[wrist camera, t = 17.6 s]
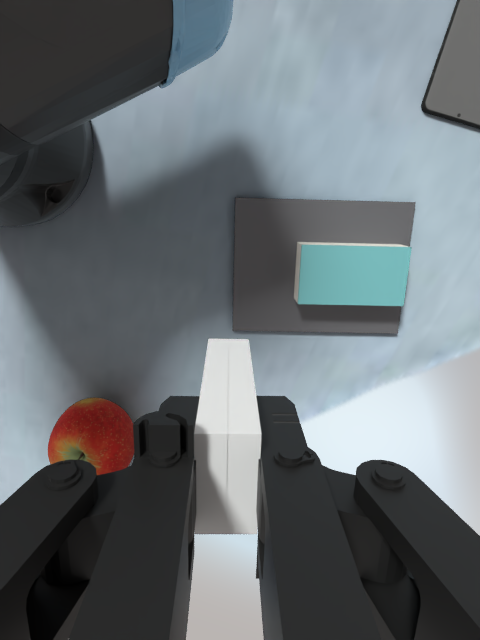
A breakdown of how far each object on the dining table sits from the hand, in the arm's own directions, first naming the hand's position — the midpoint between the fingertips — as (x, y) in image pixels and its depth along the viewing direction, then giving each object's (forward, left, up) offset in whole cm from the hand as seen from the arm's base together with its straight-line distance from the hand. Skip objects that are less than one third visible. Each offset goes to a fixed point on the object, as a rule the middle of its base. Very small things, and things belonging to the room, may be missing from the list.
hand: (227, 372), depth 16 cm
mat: (+9, 0, -26) cm, 28 cm away
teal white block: (+7, 0, -24) cm, 25 cm away
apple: (-13, -17, -27) cm, 34 cm away
